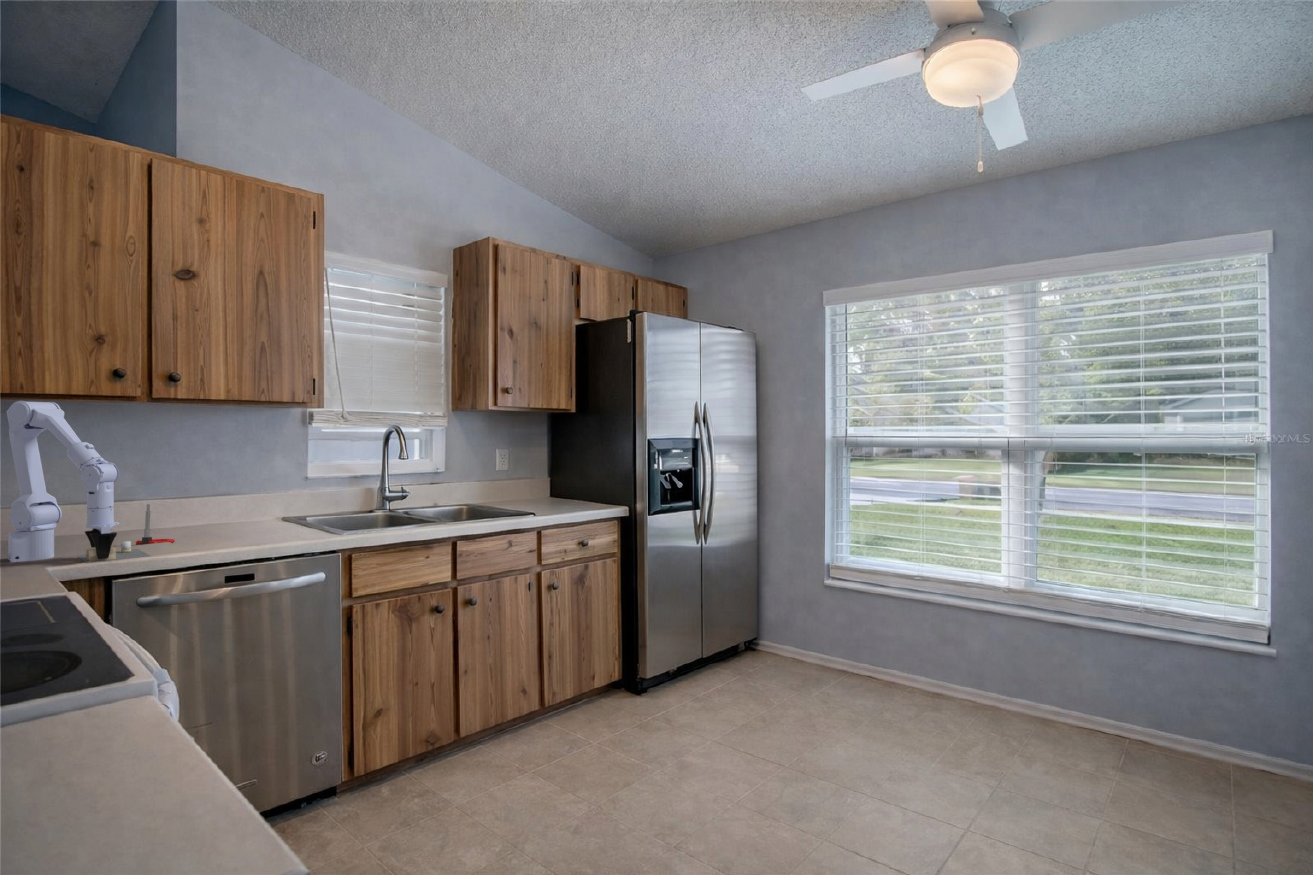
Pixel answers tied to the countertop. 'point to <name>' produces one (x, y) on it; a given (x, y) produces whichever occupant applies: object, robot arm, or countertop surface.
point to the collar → (92, 554)
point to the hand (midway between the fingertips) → (100, 557)
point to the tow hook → (147, 538)
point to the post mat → (122, 553)
